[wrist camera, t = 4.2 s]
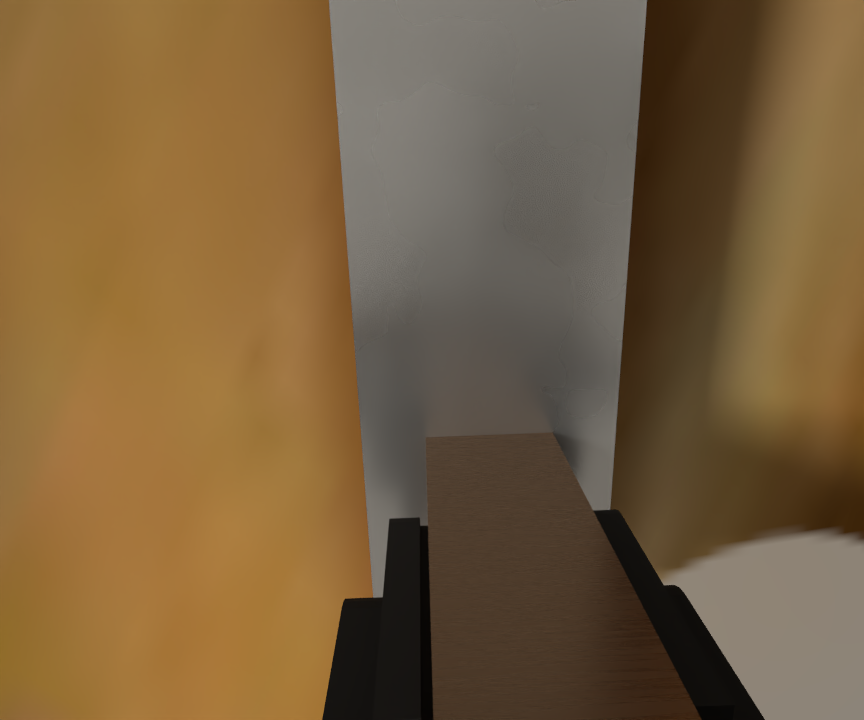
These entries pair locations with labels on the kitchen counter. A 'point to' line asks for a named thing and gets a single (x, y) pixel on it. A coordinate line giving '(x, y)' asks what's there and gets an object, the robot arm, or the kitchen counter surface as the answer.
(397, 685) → the robot arm
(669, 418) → the kitchen counter surface
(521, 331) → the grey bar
